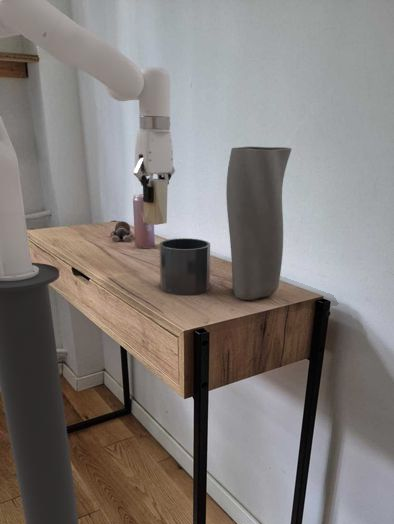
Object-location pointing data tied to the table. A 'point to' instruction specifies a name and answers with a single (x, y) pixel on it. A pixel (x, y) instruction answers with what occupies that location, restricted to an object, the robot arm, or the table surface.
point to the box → (157, 204)
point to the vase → (256, 218)
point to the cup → (184, 266)
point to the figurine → (121, 232)
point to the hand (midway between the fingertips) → (155, 200)
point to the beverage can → (142, 225)
